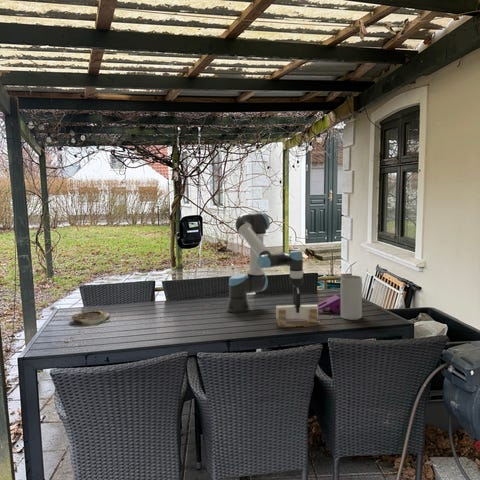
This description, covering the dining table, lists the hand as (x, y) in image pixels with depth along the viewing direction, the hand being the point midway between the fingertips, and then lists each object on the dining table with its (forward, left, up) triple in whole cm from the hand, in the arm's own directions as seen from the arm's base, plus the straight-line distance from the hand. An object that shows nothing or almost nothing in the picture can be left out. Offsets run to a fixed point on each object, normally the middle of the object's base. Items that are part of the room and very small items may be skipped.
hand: (296, 316), depth 250 cm
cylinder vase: (-11, +35, -5) cm, 37 cm away
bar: (0, +2, -1) cm, 2 cm away
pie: (-20, -128, -5) cm, 130 cm away
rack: (0, 0, -5) cm, 5 cm away
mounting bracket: (-27, +24, -5) cm, 36 cm away
